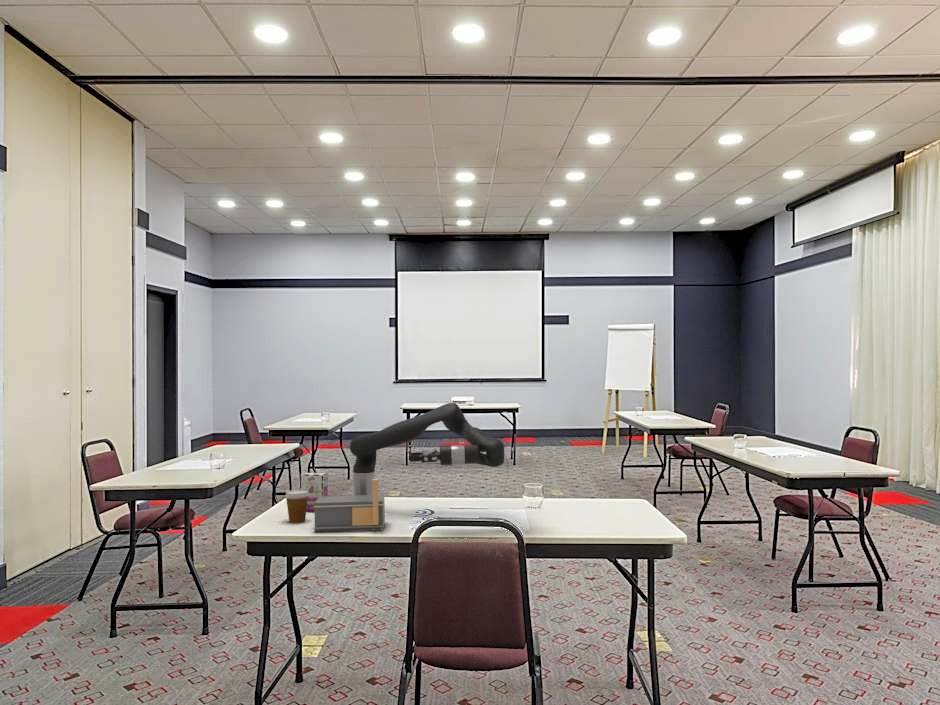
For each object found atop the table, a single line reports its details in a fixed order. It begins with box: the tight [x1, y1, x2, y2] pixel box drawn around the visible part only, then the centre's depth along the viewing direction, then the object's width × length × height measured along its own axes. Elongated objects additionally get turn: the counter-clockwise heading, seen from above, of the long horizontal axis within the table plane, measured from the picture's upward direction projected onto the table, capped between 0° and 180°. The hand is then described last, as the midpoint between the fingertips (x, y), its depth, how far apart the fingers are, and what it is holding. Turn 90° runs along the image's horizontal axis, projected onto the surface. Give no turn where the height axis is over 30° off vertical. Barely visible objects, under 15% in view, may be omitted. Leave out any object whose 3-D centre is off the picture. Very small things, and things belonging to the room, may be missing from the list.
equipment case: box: [313, 494, 386, 532], centre depth 257 cm, size 14×26×11 cm, turn 94°
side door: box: [352, 478, 379, 526], centre depth 251 cm, size 4×10×18 cm, turn 94°
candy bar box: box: [300, 472, 329, 513], centre depth 287 cm, size 11×5×16 cm, turn 73°
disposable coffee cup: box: [285, 489, 309, 524], centre depth 269 cm, size 10×10×12 cm
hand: (410, 457), depth 250 cm, fingers open, 8 cm apart
